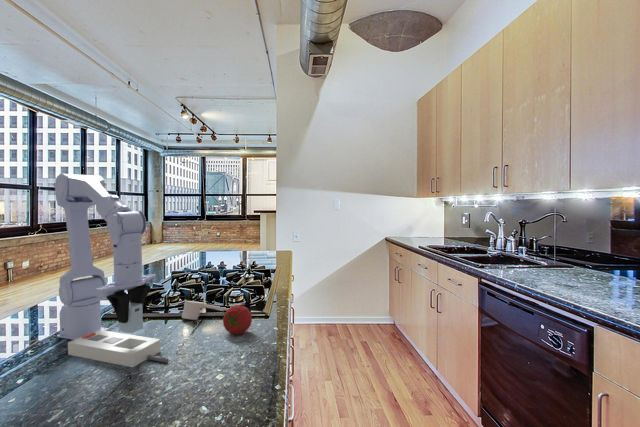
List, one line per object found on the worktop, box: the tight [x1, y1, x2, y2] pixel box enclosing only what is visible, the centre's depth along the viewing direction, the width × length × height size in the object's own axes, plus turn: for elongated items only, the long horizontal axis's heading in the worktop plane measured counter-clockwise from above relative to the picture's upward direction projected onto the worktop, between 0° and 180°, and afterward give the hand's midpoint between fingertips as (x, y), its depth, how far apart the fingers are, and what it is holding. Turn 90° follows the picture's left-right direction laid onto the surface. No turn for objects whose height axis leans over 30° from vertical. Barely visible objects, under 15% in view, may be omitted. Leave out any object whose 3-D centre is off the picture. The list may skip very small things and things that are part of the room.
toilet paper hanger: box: [181, 300, 229, 320], centre depth 106 cm, size 20×5×16 cm
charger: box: [118, 302, 144, 334], centre depth 77 cm, size 4×3×6 cm
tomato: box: [222, 304, 253, 336], centre depth 90 cm, size 8×8×8 cm
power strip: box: [67, 330, 170, 368], centre depth 78 cm, size 26×8×4 cm, turn 72°
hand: (129, 319), depth 77 cm, fingers closed on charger, 3 cm apart
